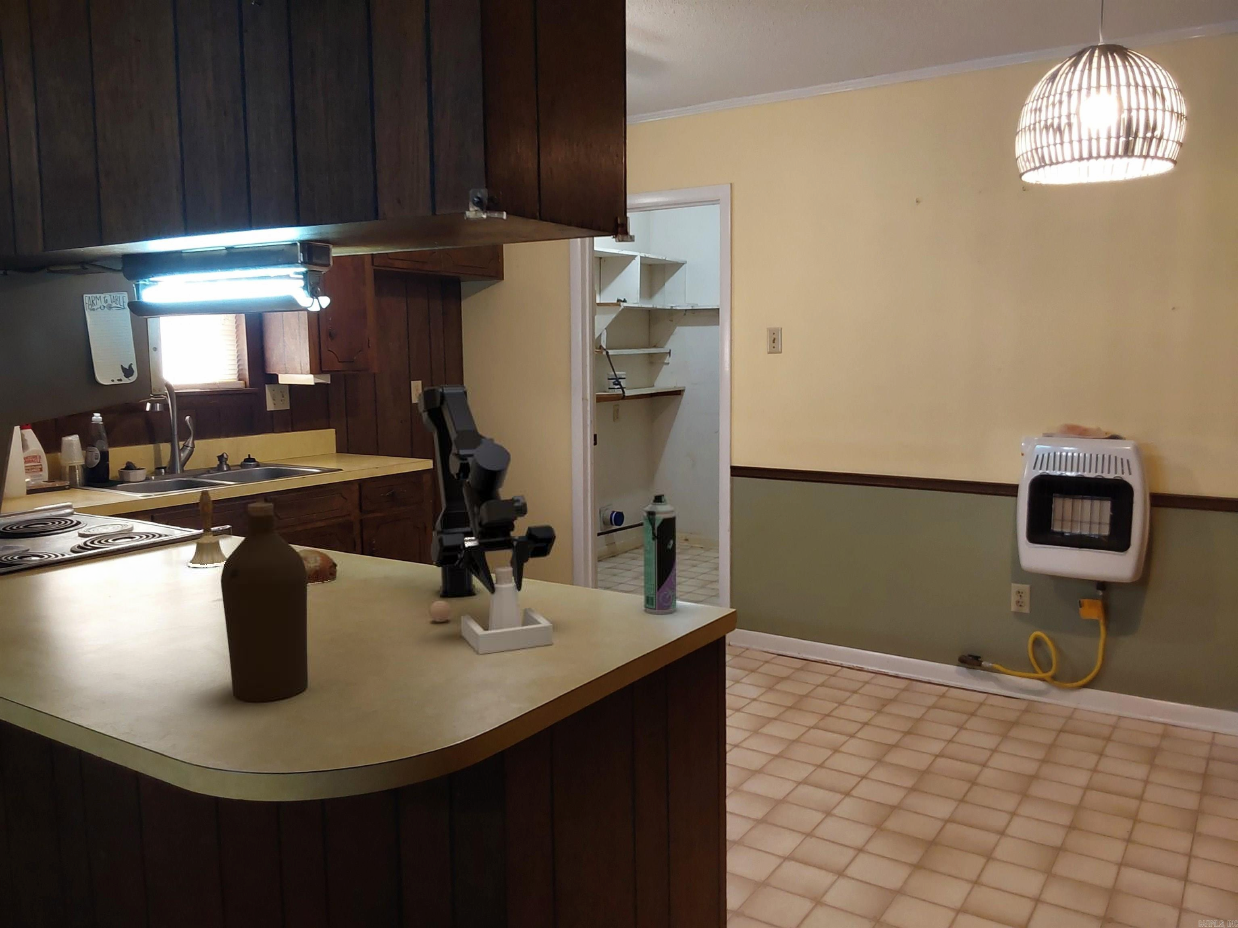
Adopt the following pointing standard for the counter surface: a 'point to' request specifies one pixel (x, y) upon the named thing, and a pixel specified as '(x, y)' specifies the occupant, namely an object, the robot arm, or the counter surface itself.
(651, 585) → the spray can
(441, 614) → the ball
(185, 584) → the counter surface
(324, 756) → the counter surface
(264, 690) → the dark brown bottle
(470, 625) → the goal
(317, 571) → the bread roll
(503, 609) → the pepper shaker
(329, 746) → the counter surface
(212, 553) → the wooden handled brush
